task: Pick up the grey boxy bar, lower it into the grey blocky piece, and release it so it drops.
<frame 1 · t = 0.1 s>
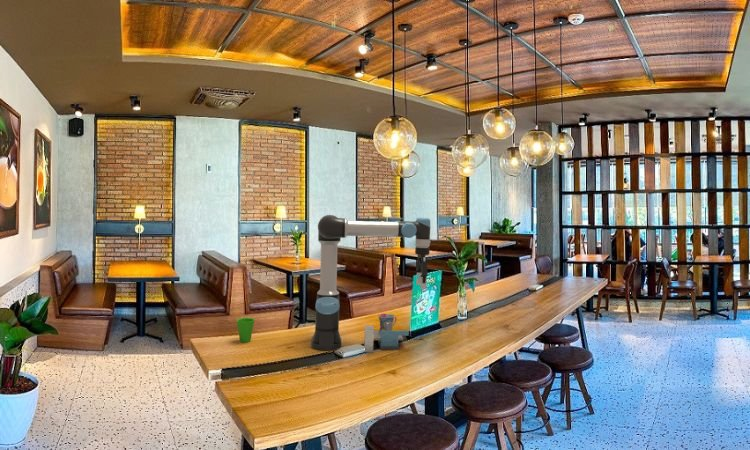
hand: (421, 286, 251), 28 cm above the table, fingers open, 13 cm apart
grey blocky piece: (387, 343, 242), on the table
cup: (245, 341, 239), on the table
grey boxy bar: (368, 350, 229), on the table
mug: (387, 334, 259), on the table
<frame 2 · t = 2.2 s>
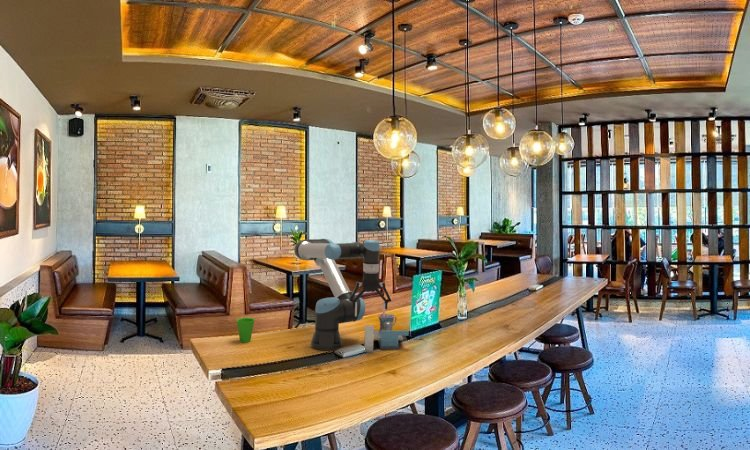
hand: (369, 315, 228), 17 cm above the table, fingers open, 13 cm apart
nothing on the table moved.
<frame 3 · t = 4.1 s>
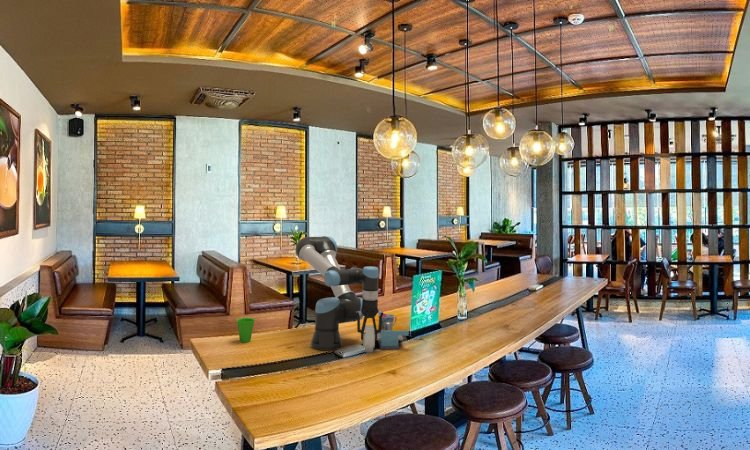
hand: (368, 346, 229), 2 cm above the table, fingers closed on grey boxy bar, 4 cm apart
grey boxy bar: (368, 350, 229), on the table, touching gripper
everything else where it was.
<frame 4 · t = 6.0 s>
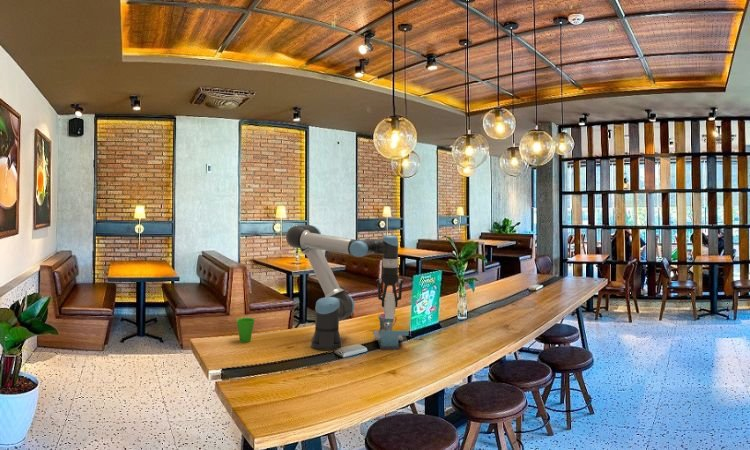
hand: (389, 313, 235), 17 cm above the table, fingers closed on grey boxy bar, 4 cm apart
grey boxy bar: (389, 317, 235), point 15 cm above the table, touching gripper
everything else where it was.
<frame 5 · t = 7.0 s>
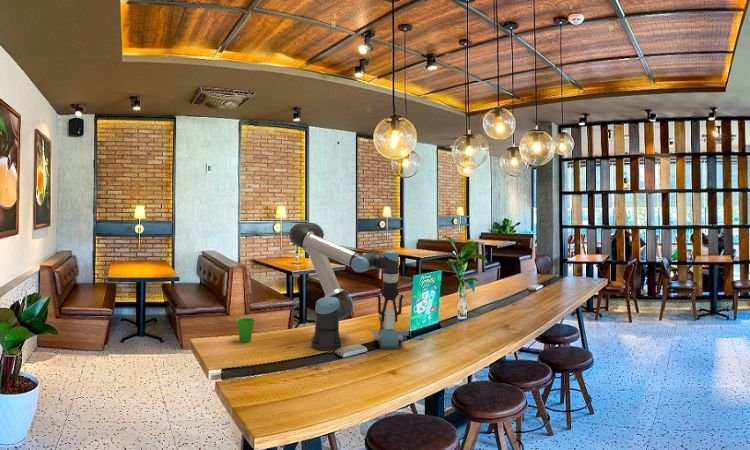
hand: (389, 327, 237), 10 cm above the table, fingers closed on grey boxy bar, 4 cm apart
grey boxy bar: (389, 332, 237), point 7 cm above the table, touching gripper
everything else where it was.
when the fingers open (6 cm above the table, at t = 7.9 s): grey boxy bar drops 2 cm, resting on grey blocky piece.
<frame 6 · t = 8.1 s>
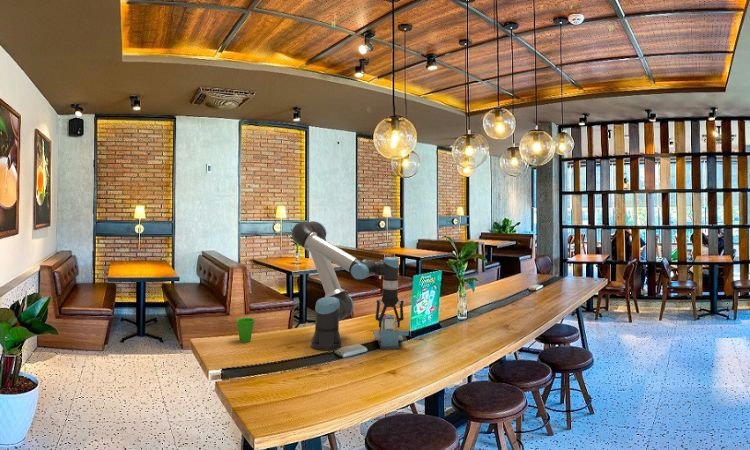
hand: (388, 333, 237), 6 cm above the table, fingers open, 7 cm apart
grey boxy bar: (388, 343, 237), point 1 cm above the table, touching grey blocky piece
everything else where it was.
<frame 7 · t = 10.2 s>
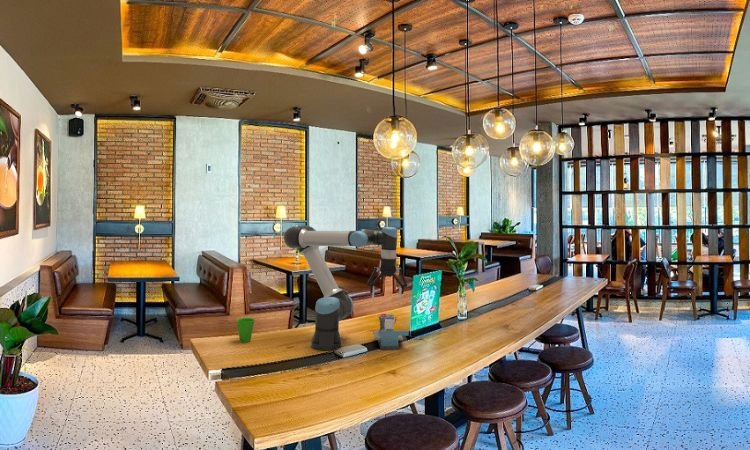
hand: (386, 300, 237), 23 cm above the table, fingers open, 13 cm apart
nothing on the table moved.
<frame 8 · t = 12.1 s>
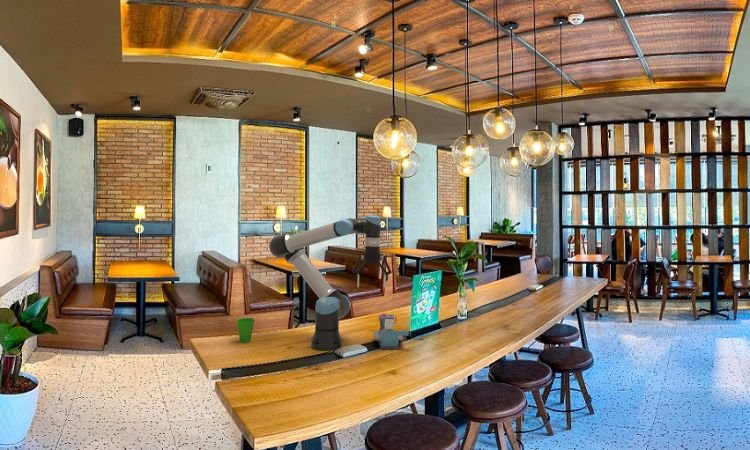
hand: (371, 287, 242), 29 cm above the table, fingers open, 13 cm apart
nothing on the table moved.
at the end: grey boxy bar 0.0 cm from the target spot on the grey blocky piece, point 1.5 cm above the grey blocky piece's base; grey boxy bar tilted 0°; the gripper is holding nothing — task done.
